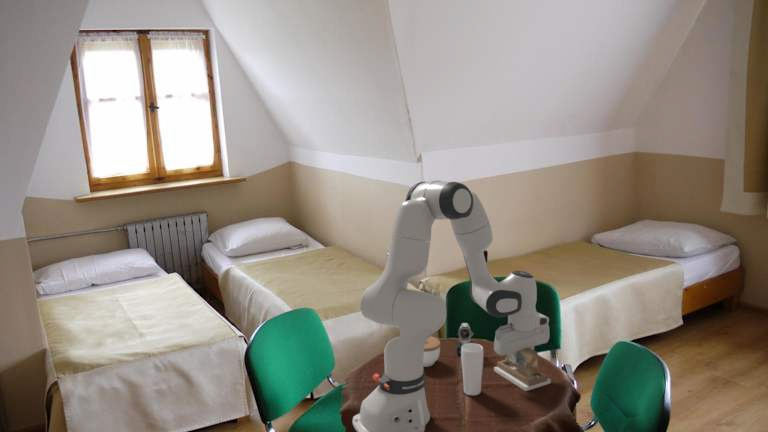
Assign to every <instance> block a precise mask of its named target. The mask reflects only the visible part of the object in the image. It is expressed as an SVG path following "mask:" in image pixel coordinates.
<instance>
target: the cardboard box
mask: <svg viewBox="0 0 768 432" xmlns="http://www.w3.org/2000/svg"><path fill="white" fill-rule="evenodd" d="M538 354H539V353H538V351H536V350H535V349H534V350H533V349H531V348H527V349H523V350H520V351H517V354H515V355H516V357H518V358H519V363H516V364H514V363H513V362H512V357H511V355H510V354H506V357H507V362H508V363H509V364H511V365H512V366H514V367H516V368H517V369H519V370H521V371H522V372H524V373H526V374H527V375H532V374H535V373H537V370H538V361H539V359H538V358H539V357H538V356H539V355H538Z"/></svg>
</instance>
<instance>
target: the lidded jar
mask: <svg viewBox="0 0 768 432" xmlns="http://www.w3.org/2000/svg"><path fill="white" fill-rule="evenodd" d="M440 353H441V341H440V340H439V338H437V337H434V336H432V335H431V336H430V337H429V338H428V339H427V341H426V343H425V347H424V356H423V368H424V367H425V368H428V367H432V366H434V364H435V363H436V362H437V361H438V359H439V357H440Z"/></svg>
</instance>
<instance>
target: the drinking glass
mask: <svg viewBox="0 0 768 432" xmlns="http://www.w3.org/2000/svg"><path fill="white" fill-rule="evenodd" d="M460 362H461V372H462V383H463V392H464V394H465V395H468V396H471V397H474V396H478V395H480V394H481V393H482V392H481V391H482V379H483V370H484V369H483V368H484V367H483V366H484V347H483V346H482V344H479V343H475V342H469V343H467V344H464V345H463V346H462V347H461V356H460Z"/></svg>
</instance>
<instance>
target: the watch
mask: <svg viewBox="0 0 768 432" xmlns="http://www.w3.org/2000/svg"><path fill="white" fill-rule="evenodd" d="M473 335H474V332H473V331H472V330H471V327H470V325H469V323H467V322H461V325H460V327H459V329H458V331H457V336H458V338H459V341H460V342H456V356H457V355H458V356H457V357H461V347H462V346H463V345H464V344H467V343H471V339H472V336H473Z"/></svg>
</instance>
